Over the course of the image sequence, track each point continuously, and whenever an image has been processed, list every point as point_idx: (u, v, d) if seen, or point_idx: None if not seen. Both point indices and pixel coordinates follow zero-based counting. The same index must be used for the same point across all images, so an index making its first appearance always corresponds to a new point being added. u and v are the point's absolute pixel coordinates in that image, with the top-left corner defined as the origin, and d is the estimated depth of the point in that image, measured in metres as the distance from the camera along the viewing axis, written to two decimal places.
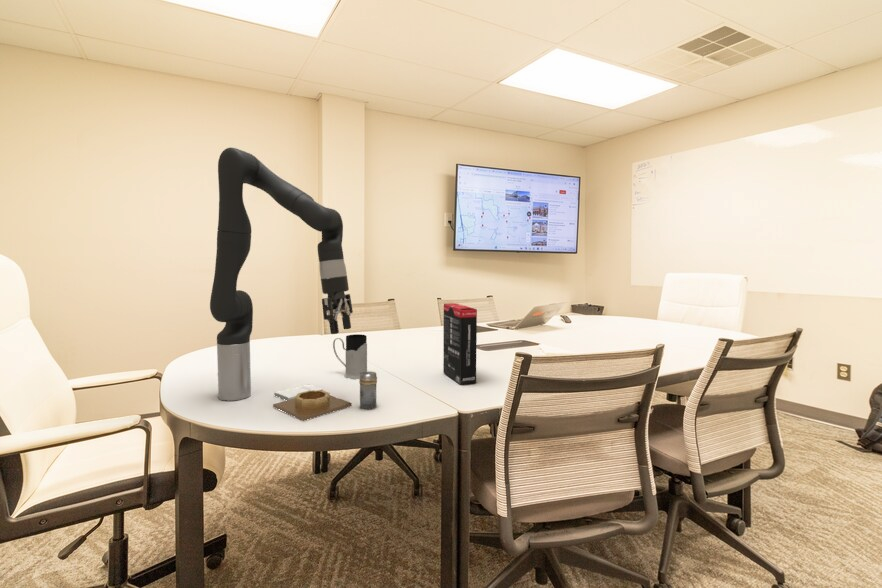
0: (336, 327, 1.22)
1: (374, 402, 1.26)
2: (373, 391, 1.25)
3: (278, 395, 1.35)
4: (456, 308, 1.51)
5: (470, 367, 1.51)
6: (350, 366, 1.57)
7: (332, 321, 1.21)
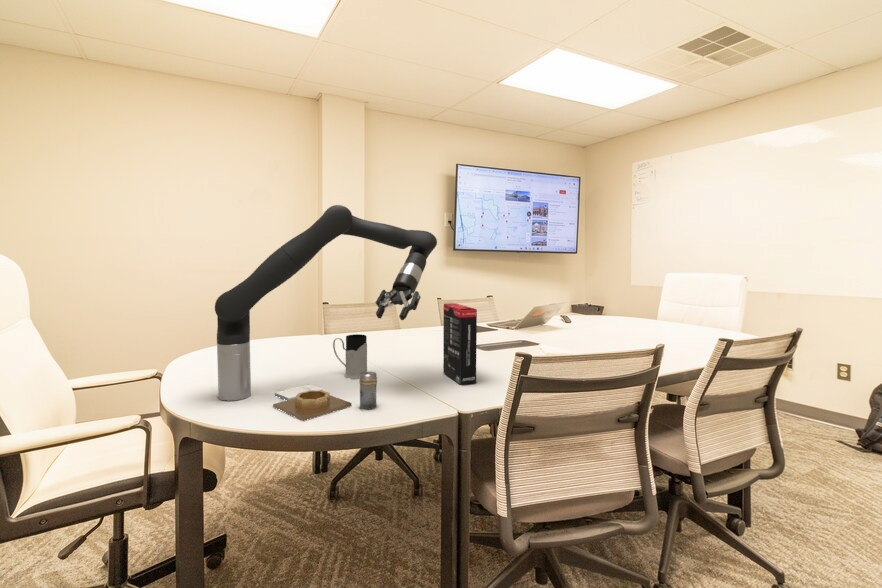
0: None
1: (374, 402, 1.26)
2: (373, 391, 1.25)
3: (278, 395, 1.35)
4: (456, 308, 1.51)
5: (470, 367, 1.51)
6: (350, 366, 1.57)
7: (408, 310, 1.35)
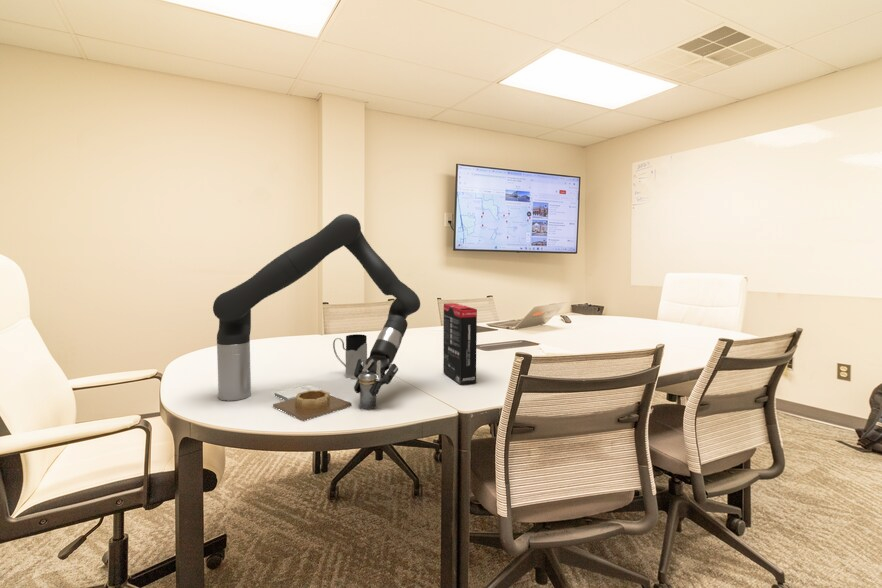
0: None
1: (374, 402, 1.26)
2: None
3: (278, 395, 1.35)
4: (456, 308, 1.51)
5: (470, 367, 1.51)
6: (350, 366, 1.57)
7: (381, 384, 1.26)
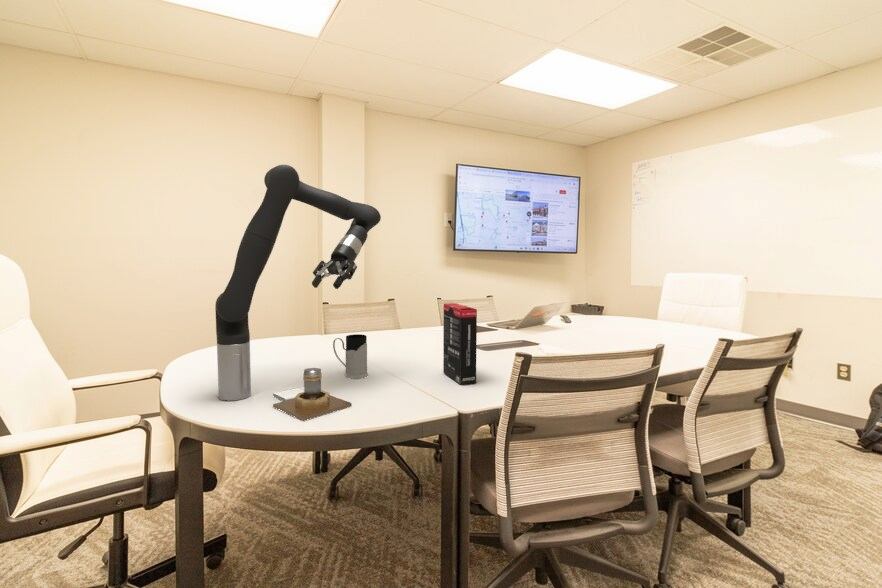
0: None
1: None
2: (316, 387, 1.25)
3: (276, 396, 1.34)
4: (456, 308, 1.51)
5: (470, 367, 1.51)
6: (350, 366, 1.57)
7: (343, 279, 1.36)
